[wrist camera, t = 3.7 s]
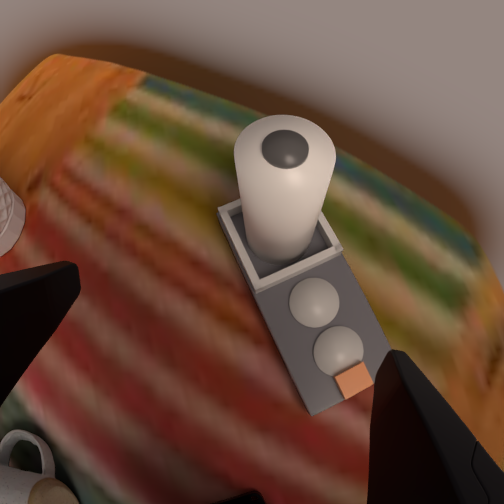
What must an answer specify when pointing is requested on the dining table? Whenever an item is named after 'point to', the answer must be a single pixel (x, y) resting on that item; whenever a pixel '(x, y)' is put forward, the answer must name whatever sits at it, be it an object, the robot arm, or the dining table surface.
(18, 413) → the dining table surface
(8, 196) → the white cup
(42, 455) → the ceramic mug
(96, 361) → the dining table surface
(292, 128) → the cream cylinder
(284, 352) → the power strip
